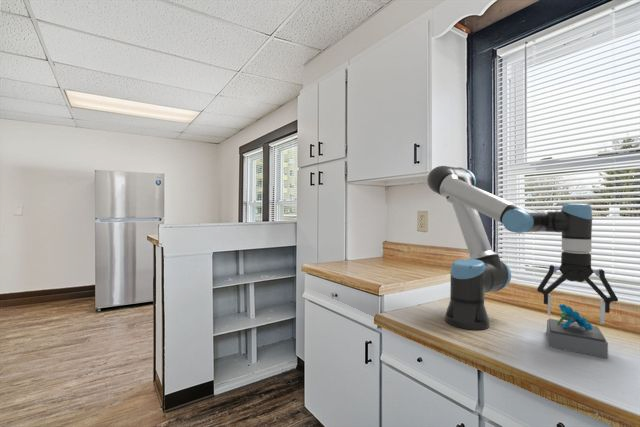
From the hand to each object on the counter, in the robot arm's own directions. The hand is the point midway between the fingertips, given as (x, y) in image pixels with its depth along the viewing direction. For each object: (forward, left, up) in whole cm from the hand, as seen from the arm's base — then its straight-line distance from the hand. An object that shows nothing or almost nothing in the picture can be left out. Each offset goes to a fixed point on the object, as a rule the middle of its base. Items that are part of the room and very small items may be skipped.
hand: (574, 318), depth 104 cm
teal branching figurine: (0, 0, -3) cm, 3 cm away
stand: (0, 0, -8) cm, 8 cm away
